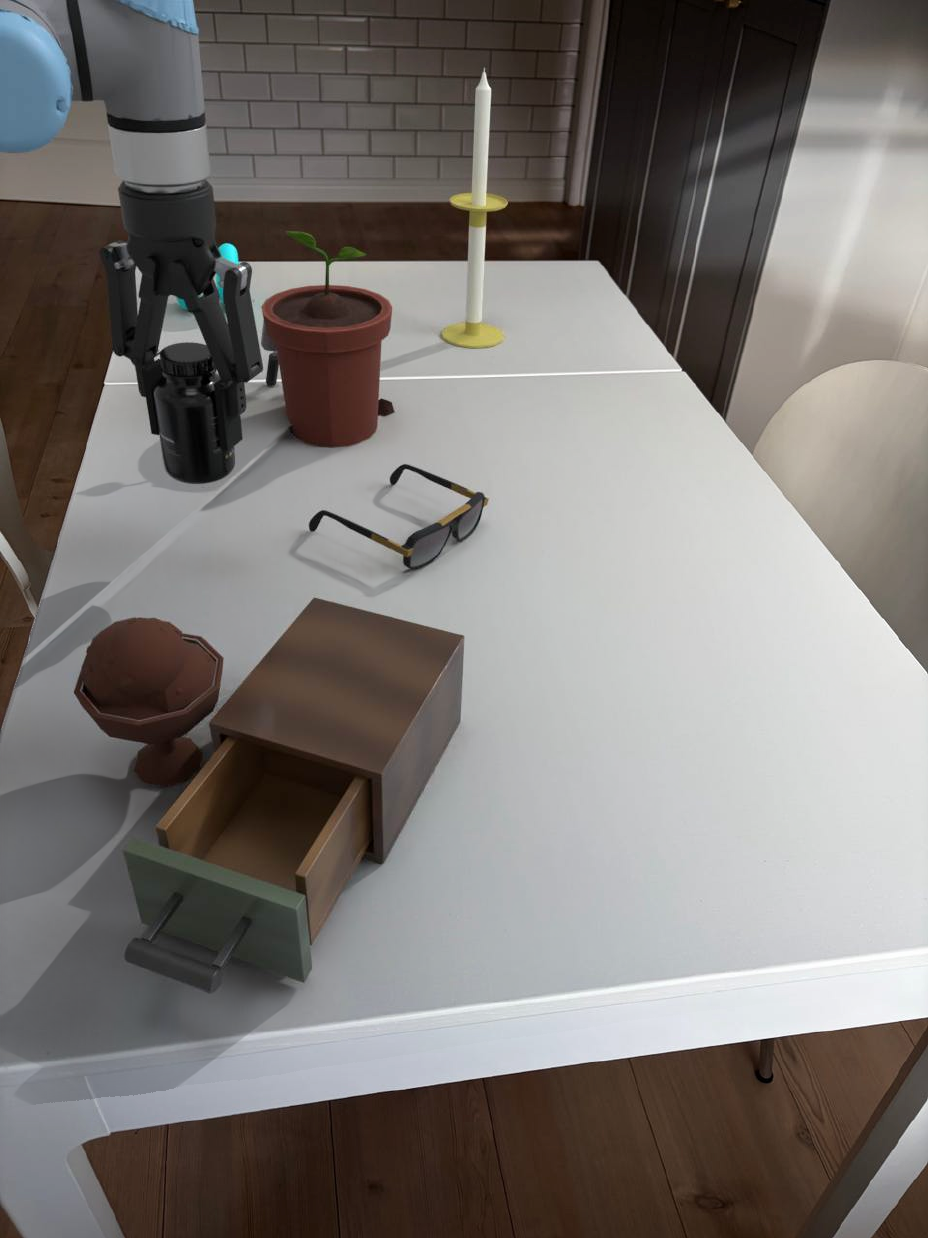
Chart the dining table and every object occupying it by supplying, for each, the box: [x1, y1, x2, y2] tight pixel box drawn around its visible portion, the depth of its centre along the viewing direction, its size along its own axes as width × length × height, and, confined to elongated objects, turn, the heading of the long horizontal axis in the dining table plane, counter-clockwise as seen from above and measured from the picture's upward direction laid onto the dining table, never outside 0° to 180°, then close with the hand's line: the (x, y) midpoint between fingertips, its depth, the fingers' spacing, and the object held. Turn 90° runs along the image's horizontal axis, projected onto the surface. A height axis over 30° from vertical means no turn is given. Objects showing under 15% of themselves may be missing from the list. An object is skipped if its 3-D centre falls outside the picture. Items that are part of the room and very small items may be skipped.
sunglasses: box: [308, 463, 490, 571], centre depth 109 cm, size 14×15×5 cm
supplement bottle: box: [154, 341, 236, 485], centre depth 93 cm, size 7×7×12 cm
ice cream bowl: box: [73, 616, 225, 788], centre depth 76 cm, size 11×11×15 cm
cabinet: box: [208, 596, 465, 865], centre depth 79 cm, size 17×14×10 cm
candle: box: [440, 67, 509, 349], centre depth 145 cm, size 10×10×38 cm
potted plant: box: [260, 230, 395, 448], centre depth 124 cm, size 18×22×25 cm
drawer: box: [122, 736, 373, 995], centre depth 68 cm, size 21×12×8 cm, turn 160°
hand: (197, 436), depth 95 cm, fingers closed on supplement bottle, 7 cm apart
